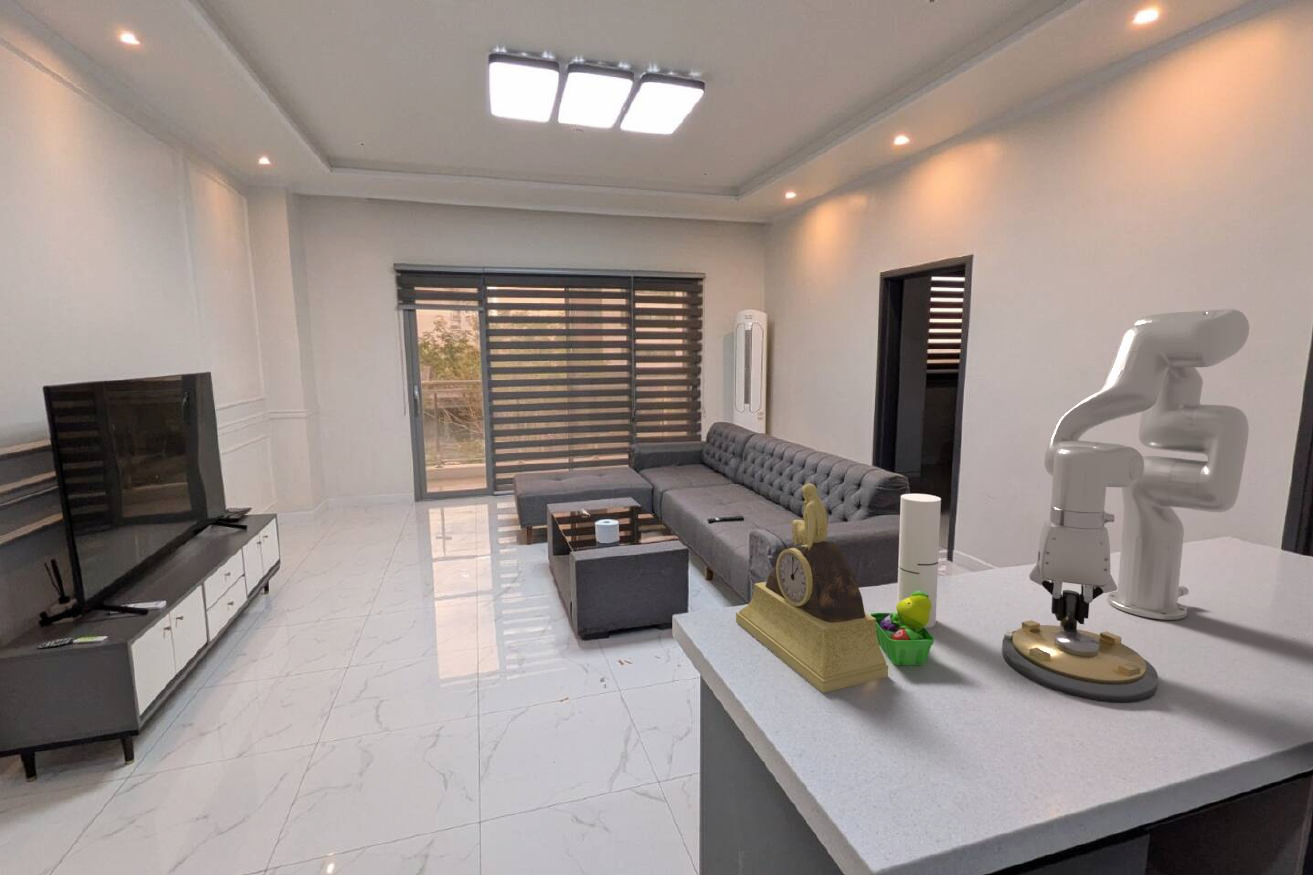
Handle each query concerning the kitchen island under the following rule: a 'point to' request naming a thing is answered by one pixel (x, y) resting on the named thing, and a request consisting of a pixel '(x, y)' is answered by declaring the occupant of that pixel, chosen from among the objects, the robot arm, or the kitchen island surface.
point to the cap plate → (1078, 687)
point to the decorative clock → (815, 609)
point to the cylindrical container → (919, 548)
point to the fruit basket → (906, 630)
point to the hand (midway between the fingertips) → (1069, 618)
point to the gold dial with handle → (1078, 649)
